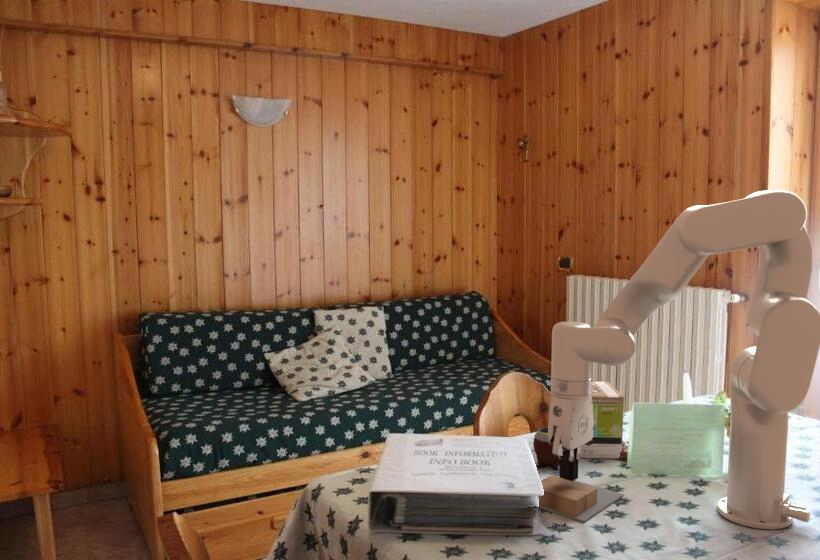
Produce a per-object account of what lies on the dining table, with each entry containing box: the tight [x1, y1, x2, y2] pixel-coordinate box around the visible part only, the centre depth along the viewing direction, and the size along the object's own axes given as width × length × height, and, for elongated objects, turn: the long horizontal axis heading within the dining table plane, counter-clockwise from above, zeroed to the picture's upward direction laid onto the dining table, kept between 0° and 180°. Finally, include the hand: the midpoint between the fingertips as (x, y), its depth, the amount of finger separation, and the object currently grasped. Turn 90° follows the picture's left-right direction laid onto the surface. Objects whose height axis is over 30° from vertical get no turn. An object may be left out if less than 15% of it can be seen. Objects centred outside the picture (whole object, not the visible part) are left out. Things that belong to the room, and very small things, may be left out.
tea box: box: [579, 381, 625, 459], centre depth 168 cm, size 15×10×15 cm
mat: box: [539, 479, 625, 524], centre depth 139 cm, size 14×16×1 cm
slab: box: [539, 474, 597, 516], centre depth 136 cm, size 10×3×8 cm
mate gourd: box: [532, 427, 560, 472], centre depth 156 cm, size 8×8×15 cm
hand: (568, 478), depth 137 cm, fingers closed
